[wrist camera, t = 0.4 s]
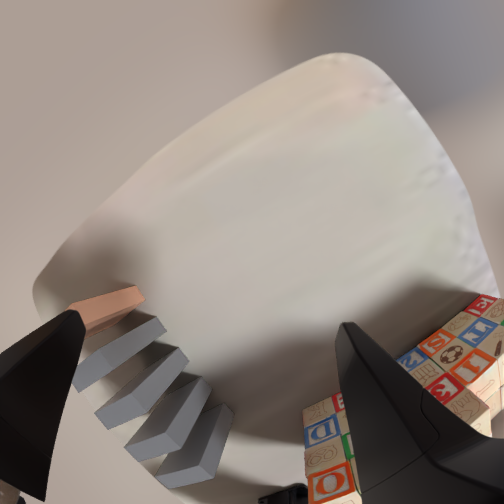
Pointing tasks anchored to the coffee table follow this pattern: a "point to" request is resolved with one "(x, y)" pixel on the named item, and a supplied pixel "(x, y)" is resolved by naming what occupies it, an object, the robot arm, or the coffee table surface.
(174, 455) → the domino
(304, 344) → the coffee table surface
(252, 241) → the coffee table surface
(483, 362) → the stack of blocks
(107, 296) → the domino
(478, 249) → the coffee table surface
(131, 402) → the domino
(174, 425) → the domino
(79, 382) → the domino
